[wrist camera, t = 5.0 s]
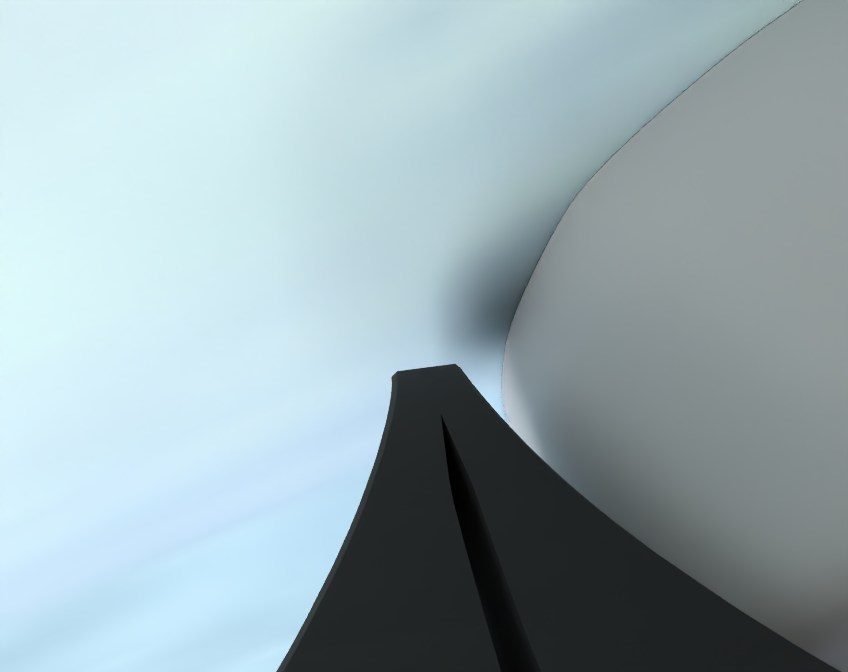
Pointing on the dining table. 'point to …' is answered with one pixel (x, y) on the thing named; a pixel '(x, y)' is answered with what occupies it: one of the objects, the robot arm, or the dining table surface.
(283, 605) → the dining table surface
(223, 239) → the dining table surface
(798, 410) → the lumpy-topped squat cylinder
